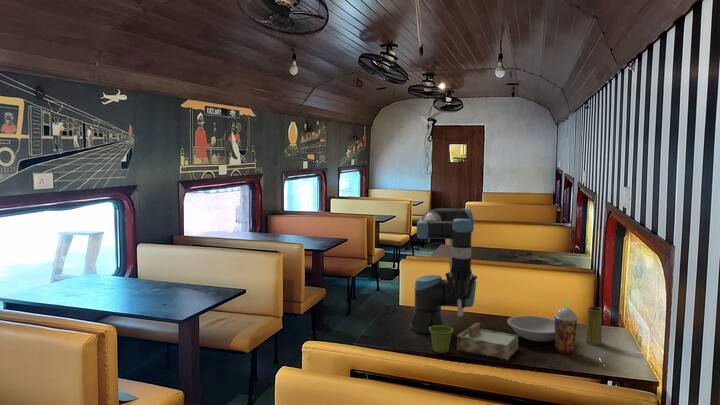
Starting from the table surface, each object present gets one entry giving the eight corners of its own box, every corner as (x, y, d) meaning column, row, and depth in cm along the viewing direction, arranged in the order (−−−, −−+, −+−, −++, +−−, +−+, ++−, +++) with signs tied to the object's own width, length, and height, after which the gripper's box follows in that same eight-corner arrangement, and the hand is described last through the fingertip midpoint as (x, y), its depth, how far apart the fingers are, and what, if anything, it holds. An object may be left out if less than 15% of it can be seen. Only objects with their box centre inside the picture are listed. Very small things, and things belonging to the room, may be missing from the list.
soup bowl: (572, 351, 204) (572, 334, 204) (509, 346, 209) (509, 330, 208) (561, 331, 228) (561, 317, 227) (504, 328, 232) (505, 313, 232)
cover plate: (462, 340, 204) (462, 328, 204) (473, 331, 214) (473, 320, 214) (506, 348, 195) (506, 336, 194) (515, 339, 205) (515, 327, 204)
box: (456, 349, 204) (456, 335, 204) (469, 339, 216) (469, 326, 216) (507, 360, 194) (507, 345, 193) (517, 349, 205) (518, 335, 205)
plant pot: (434, 344, 210) (434, 323, 210) (456, 349, 205) (456, 327, 205) (424, 351, 202) (425, 330, 201) (447, 356, 197) (448, 334, 197)
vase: (600, 341, 216) (602, 307, 214) (602, 346, 210) (603, 311, 209) (584, 339, 218) (586, 305, 216) (586, 344, 212) (587, 309, 211)
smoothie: (549, 347, 207) (551, 298, 206) (569, 347, 208) (571, 298, 207) (559, 355, 199) (561, 304, 198) (580, 354, 200) (582, 303, 198)
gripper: (442, 257, 209) (441, 314, 210) (473, 260, 202) (472, 320, 203) (449, 254, 215) (448, 310, 217) (480, 257, 208) (479, 315, 210)
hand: (460, 315), depth 210 cm, fingers closed
